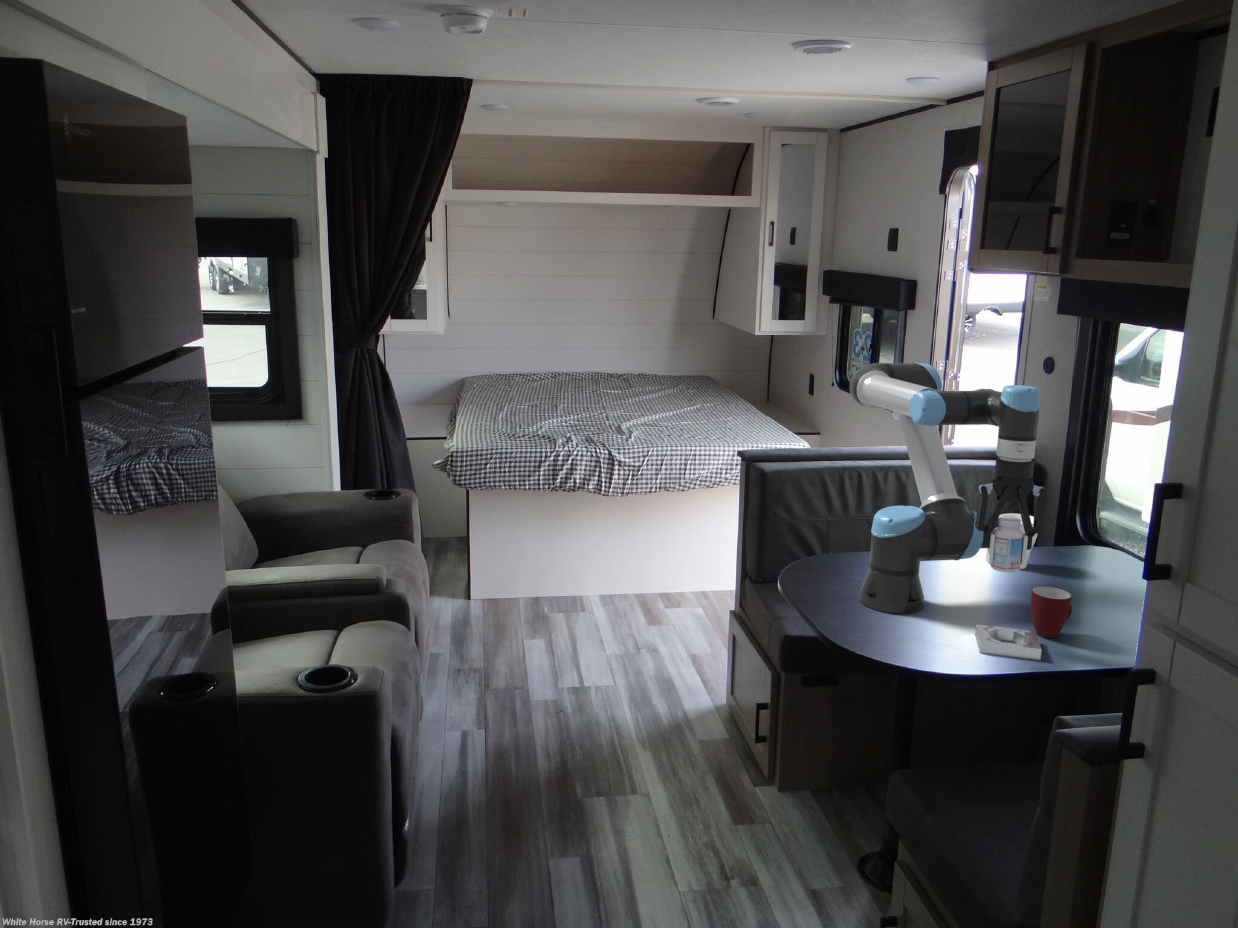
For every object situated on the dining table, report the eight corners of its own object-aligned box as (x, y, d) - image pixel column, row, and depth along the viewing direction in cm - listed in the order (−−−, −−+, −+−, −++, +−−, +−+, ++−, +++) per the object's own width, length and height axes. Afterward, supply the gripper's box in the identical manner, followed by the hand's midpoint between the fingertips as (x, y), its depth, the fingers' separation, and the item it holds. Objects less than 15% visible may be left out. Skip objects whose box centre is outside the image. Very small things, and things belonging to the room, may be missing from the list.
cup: (1037, 564, 256) (1043, 517, 253) (1031, 574, 247) (1037, 526, 244) (997, 557, 261) (1003, 511, 258) (990, 567, 252) (995, 519, 249)
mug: (1047, 623, 214) (1052, 582, 212) (1080, 635, 207) (1086, 593, 205) (1019, 631, 208) (1024, 590, 206) (1051, 644, 202) (1057, 601, 200)
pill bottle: (1015, 565, 204) (1020, 516, 202) (1022, 573, 198) (1027, 523, 196) (986, 564, 205) (991, 514, 203) (993, 572, 199) (997, 521, 197)
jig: (979, 652, 197) (980, 641, 196) (975, 634, 206) (976, 624, 206) (1040, 660, 194) (1041, 649, 193) (1033, 641, 203) (1034, 631, 203)
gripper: (972, 460, 194) (963, 565, 199) (1068, 463, 192) (1056, 570, 196) (964, 453, 202) (956, 555, 206) (1056, 457, 199) (1045, 560, 203)
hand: (1005, 562), depth 201 cm, fingers closed on pill bottle, 6 cm apart
